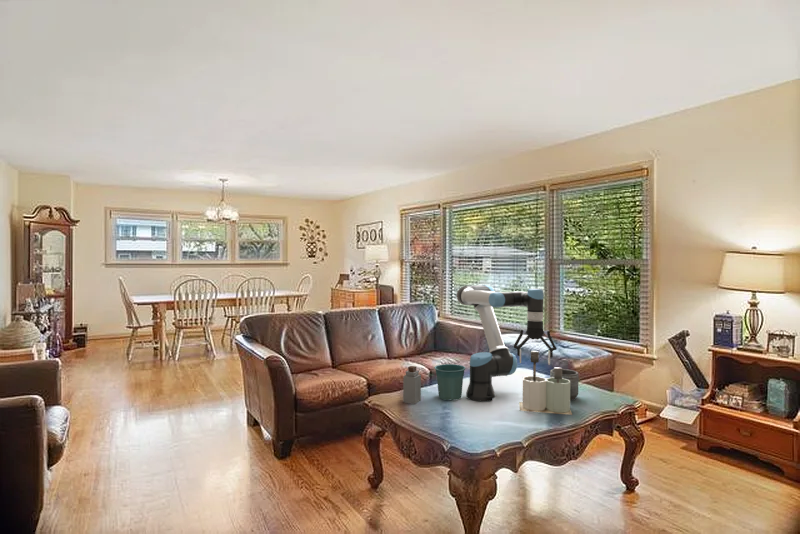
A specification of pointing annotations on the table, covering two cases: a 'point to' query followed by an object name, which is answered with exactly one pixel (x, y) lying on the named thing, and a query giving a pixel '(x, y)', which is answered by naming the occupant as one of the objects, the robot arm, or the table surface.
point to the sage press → (558, 393)
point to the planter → (573, 379)
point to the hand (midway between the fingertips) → (534, 363)
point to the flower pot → (450, 381)
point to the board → (542, 410)
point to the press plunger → (534, 365)
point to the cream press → (534, 394)
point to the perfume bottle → (412, 386)
